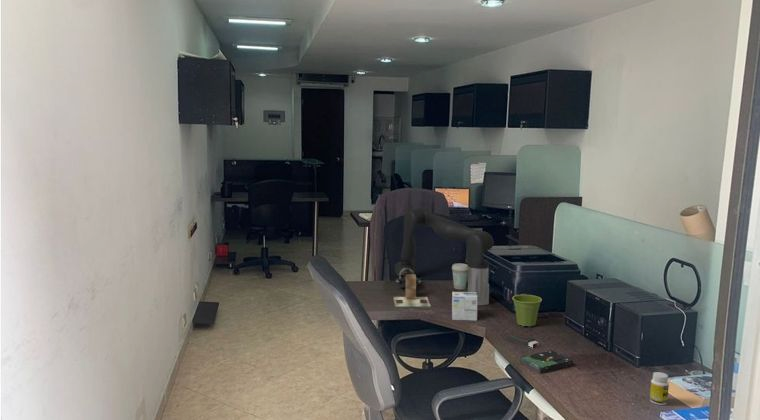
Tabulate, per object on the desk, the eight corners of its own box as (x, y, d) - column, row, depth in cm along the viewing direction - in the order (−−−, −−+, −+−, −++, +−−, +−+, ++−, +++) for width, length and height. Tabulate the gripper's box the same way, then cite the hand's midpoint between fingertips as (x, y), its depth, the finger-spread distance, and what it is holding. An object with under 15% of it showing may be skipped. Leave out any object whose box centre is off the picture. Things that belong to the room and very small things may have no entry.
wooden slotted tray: (427, 299, 273) (427, 296, 272) (430, 309, 258) (430, 306, 257) (393, 299, 272) (393, 296, 272) (394, 309, 257) (394, 306, 257)
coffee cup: (449, 286, 298) (450, 263, 296) (465, 285, 299) (466, 263, 297) (453, 290, 289) (454, 267, 288) (470, 290, 290) (470, 266, 289)
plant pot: (517, 318, 246) (518, 292, 245) (544, 323, 239) (546, 297, 238) (506, 325, 237) (507, 299, 235) (534, 331, 230) (535, 304, 228)
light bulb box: (476, 316, 249) (477, 291, 248) (477, 321, 242) (478, 296, 241) (451, 315, 250) (452, 291, 249) (451, 320, 243) (452, 295, 242)
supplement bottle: (664, 407, 167) (666, 379, 166) (647, 402, 170) (649, 374, 169) (669, 401, 170) (671, 374, 169) (652, 396, 173) (654, 369, 172)
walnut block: (414, 296, 272) (415, 274, 270) (415, 299, 267) (416, 276, 266) (405, 297, 272) (405, 274, 270) (406, 299, 267) (406, 276, 266)
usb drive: (515, 337, 224) (515, 330, 224) (540, 346, 214) (540, 339, 214) (506, 340, 221) (506, 333, 221) (530, 349, 211) (530, 342, 211)
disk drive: (551, 357, 205) (518, 364, 198) (551, 349, 205) (519, 356, 198) (573, 367, 196) (540, 375, 189) (573, 359, 196) (540, 367, 189)
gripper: (394, 269, 292) (395, 277, 275) (420, 269, 292) (423, 277, 275) (393, 283, 293) (395, 293, 275) (419, 283, 293) (423, 293, 276)
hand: (409, 285), depth 275 cm, fingers closed
